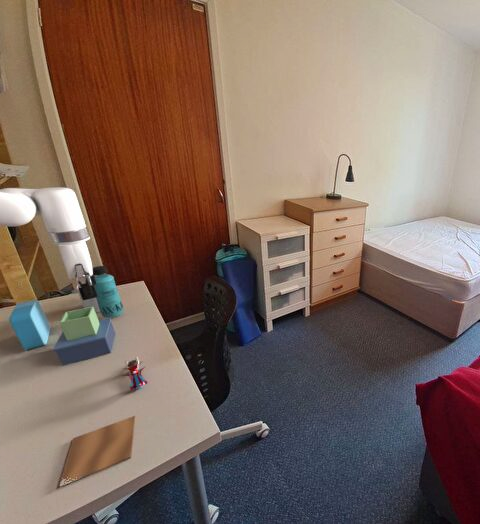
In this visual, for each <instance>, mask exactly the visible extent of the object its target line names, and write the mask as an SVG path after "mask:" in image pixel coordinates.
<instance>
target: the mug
mask: <svg viewBox="0 0 480 524" xmlns="http://www.w3.org/2000/svg"><path fill="white" fill-rule="evenodd" d="M76 291H77V294H78V296H79V299H80V302H81V304H82V306H83V308H88V307H94V310H95V313H96V314H97V313H101V312H100V309H99V306H98V304H97V303H98V302H97V299H96V298H92V299H88V300H82V297H81V294H80V292H79V289H78V285H77V286H76Z"/></svg>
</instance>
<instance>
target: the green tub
mask: <svg viewBox="0 0 480 524" xmlns="http://www.w3.org/2000/svg"><path fill="white" fill-rule="evenodd" d="M99 320H100V319H99V318H98V315H97V312H96V313H95V310H94V307H88V308H84V307H83V308H79V309H74V310H69V311H65V312H64V314H63V316H62V318H61V319H60V321H59V325H60V328H61V330H62V332H64V334H65V337H66V339H67V341H72V340H76V339H80V338H85V337H89V336H93V335H96V333H97V331H98V328H99V325H100V323H99Z"/></svg>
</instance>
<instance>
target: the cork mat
mask: <svg viewBox="0 0 480 524" xmlns="http://www.w3.org/2000/svg"><path fill="white" fill-rule="evenodd" d="M135 422H136V415H133V416H130V417H128V418H125V419H122V420H119V421H117V422H114V423H111V424H109V425H106V426H103V427H99V428H97V429H94V430H92V431H89V432H87V433H84V434H80V435H78V436H75V437H73V438H72V441H71V444H70V447H69V451H68V453H67V458H66V461H65V464H64V467H63V471H62V474H61V477H60V481H62V480H63V479H66V480H68V479H69V478H71V479H69V481H74V480H72V479H75V480H76V479H79V478H81V477H84V478H86V477H85V476H87V475H89V476H91V475H90V474H92V475H94V474H96V473H98V472H102V471H103V470H106V469H108V468H110V467H113V466H115V465H117V464H120V463H123V462H125V461H128V460H130V459H132V453H133V443H134V435H135V434H134V433H135ZM93 473H94V474H93ZM67 477H68V478H67ZM76 477H77V478H76ZM87 477H88V476H87ZM61 478H63V479H61ZM66 480H65V481H66ZM65 481H64V482H65ZM69 481H66V482H69ZM64 484H65V483H64Z"/></svg>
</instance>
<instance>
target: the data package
mask: <svg viewBox="0 0 480 524" xmlns="http://www.w3.org/2000/svg"><path fill="white" fill-rule="evenodd" d="M8 318H9V319H8V320H9V324H10V326H11V328H12V330H13V331H14V333H15V336H16V337H17V339H18V340H19V341H18V342H19V343H20V345H21V346H22V348H23V350H25V351H28V350H32V349H35V348H40V347H42V346H46V345H47V344H48V340H49V337H50V334H51V333H50V332H51V325H50V323H49V320H48V318H47V316H46V314H45V312H44V309H43V307H42V305H41V303H40V301H39V300H38V299H33V300H27V301H22V302H17V303H16V304H15V306H14V308H13V310H12V311H11V313H10V315H9V317H8Z"/></svg>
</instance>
